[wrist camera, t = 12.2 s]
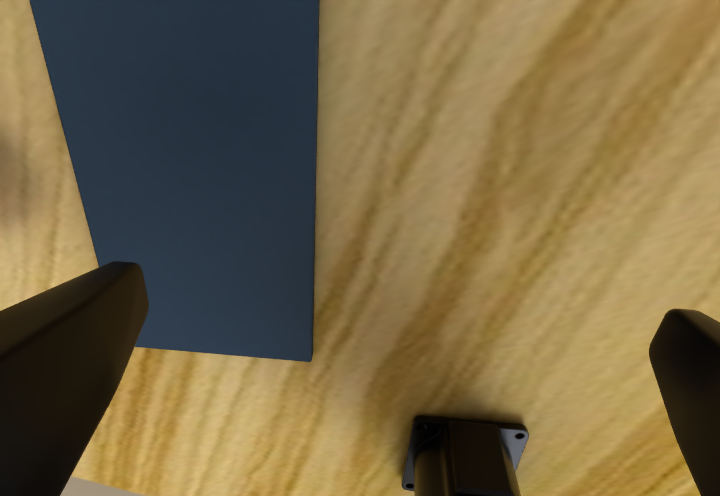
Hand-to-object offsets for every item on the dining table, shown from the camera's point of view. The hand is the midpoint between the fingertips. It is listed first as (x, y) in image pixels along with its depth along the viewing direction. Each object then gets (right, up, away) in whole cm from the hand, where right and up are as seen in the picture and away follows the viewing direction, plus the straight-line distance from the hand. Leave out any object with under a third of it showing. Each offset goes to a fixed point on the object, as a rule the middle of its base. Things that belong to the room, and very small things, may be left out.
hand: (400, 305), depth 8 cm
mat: (-8, +3, +12) cm, 15 cm away
